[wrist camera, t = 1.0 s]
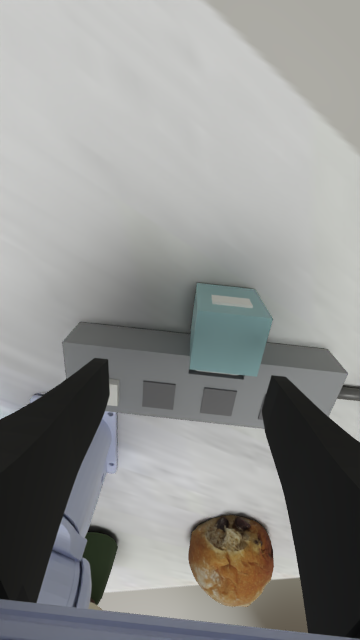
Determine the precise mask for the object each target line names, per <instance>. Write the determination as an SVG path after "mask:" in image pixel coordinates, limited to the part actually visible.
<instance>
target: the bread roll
mask: <svg viewBox="0 0 360 640" xmlns="http://www.w3.org/2000/svg"><path fill="white" fill-rule="evenodd" d="M189 564H190V567H191V570H192V573H193V575H194V577H195V579H196V581H197V582H198V584H199V585H200V586H201V588H202V589H203V590H204V591H205V592H206V593H207V594H208V595H209V596H210V597H212V598H213V599H214V600H215V601H217V602H219V603H221V604H223V605H225V606H243V607H248V606H249V605H250V604H251V603H252V602H253V601H254V600H256V599H257V598H258V596H260V594H261V593H262V591H263V590H264V588H265V586H266V584H268V583H269V582H270V580H271V577H272V572H273V567H274V564H273V549H272V545H271V540H270V538H269V536H268V534H267V532H266V530H265V529H264V528H263V526H262V525H260V524H259V523H258V522H256V521H254V520H251V519H248V518H245V517H242V516H235V515H228V516H221V517H216V518H212V519H210V520H208V521H206V522H204V523H201V524H199V525H198V526H197V528H196V529H195V530H194V531H193V532H192V534H191V540H190V548H189Z"/></svg>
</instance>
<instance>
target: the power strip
mask: <svg viewBox="0 0 360 640" xmlns="http://www.w3.org/2000/svg"><path fill="white" fill-rule="evenodd" d="M62 344H63V353H64V362H65V372H66V379H67V378H69V377H70V376H71V375H73V374H74V373H75V372H77V371H78V370H79V369H81V368H82V367H83V366H84V365H86V364H87V363H88V362H90V361H91V360H92V359H94V358H101V359H108V365H109V388H110V396H109V400H108V403H107V406H106V409H105V411H108V412H117V413H126V414H135V415H144V416H153V417H162V418H171V419H180V420H189V421H198V422H207V423H217V424H226V425H235V426H244V427H253V428H262V429H265V428H264V423H263V417H262V407H263V404H264V400H265V396H266V393H267V389H268V386H269V382H270V379H271V375H274V376H284V377H287V378H288V379H289V380H290V381H291V382H292V383H293V384H294V385H295V386H296V387H297V388H298V389H299V390H300V391H301V392H302V393H303V394H304V395H305V396H306V397H307V398H309V399H310V400H311V401H312V402H313V403H314V404H315V405H316V406H317V407H318V408H319V409H320V410H321V411H322V412H323V413H325V414H326V415H327V416H328V417H329V415H330V413H331V410H332V408H333V406H334V404H335V402H336V399H346V400H355V401H360V389H357V388H348V387H342V386H343V384H344V382H345V379H346V377H347V375H348V373H347V372H346V370H345V369H344V368H343V367H342V366H341V364H340V363H339V362H338V361H337V360H336V358H335V357H334V356H333V355H332V354H331V353H330V351H329V350H328V349H321V348H312V347H303V346H294V345H285V344H276V343H266V346H265V349H264V353H263V357H262V360H261V364H260V367H259V371H258V375H257V377H255V376H246V375H230V374H221V373H212V372H203V371H196V370H191V369H189V367H190V334H184V333H175V332H166V331H157V330H148V329H139V328H130V327H121V326H112V325H102V324H93V323H84V322H80V323H79V324H78V325H77V326H76V327H75V328H74V329H73V331H72V332H71V333H70V334H69V335H68V336H67V337H66V338H65V340H64V341H63V342H62Z"/></svg>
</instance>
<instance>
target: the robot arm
mask: <svg viewBox="0 0 360 640" xmlns="http://www.w3.org/2000/svg"><path fill="white" fill-rule="evenodd" d="M109 396H110V388H109V365H108V359H101V358H94V359H92V360H91V361H90V362H88V363H87V364H86V365H84V366H83V367H82V368H81V369H79V370H78V371H77V372H75V373H74V374H73V375H71V376H70V377H69V378H67V379H66V380H65V381H63V382H62V383H61V384H59V385H58V386H56V387H55V388H53V389H52V390H50V391H49V392H47V393H46V394H44V395H43V396H39V395H34V396H32V397H31V399H30V404H28V405H27V406H25V407H23V408H21V409H20V410H18V411H16V412H14V413H12V414H10V415H8V416H6V417H4V418H2V419H0V640H360V442H358V441H357V440H356V439H354V438H353V437H352V436H350V435H349V434H348V433H347V432H345V431H344V430H343V429H342V428H341V427H340V426H338V425H337V424H336V423H335V422H334V421H332V420H331V419H330V418H329V417H328V416H327V415H326V414H325V413H323V412H322V411H321V410H320V409H319V408H318V407H317V406H316V405H315V404H314V403H313V402H312V401H311V400H310V399H309V398H307V397H306V396H305V395H304V394H303V393H302V392H301V391H300V390H299V389H298V388H297V387H296V386H295V385H294V384H293V383H292V382H291V381H290V380H289V379H288V378H287V377H284V376H274V375H271V379H270V382H269V386H268V389H267V393H266V396H265V400H264V404H263V407H262V417H263V423H264V428H265V433H266V437H267V440H268V443H269V446H270V450H271V453H272V456H273V459H274V462H275V466H276V469H277V472H278V475H279V478H280V482H281V485H282V489H283V492H284V496H285V501H286V505H287V510H288V515H289V519H290V524H291V530H292V535H293V540H294V545H295V551H296V556H297V562H298V568H299V574H300V580H301V586H302V592H303V599H304V606H305V613H306V620H307V626H308V633H302V632H293V631H284V630H275V629H266V628H257V627H248V626H239V625H230V624H221V623H212V622H203V621H194V620H185V619H175V618H167V617H158V616H149V615H139V614H130V613H120V612H112V611H103V610H94V609H88V608H89V603H90V597H91V587H92V582H91V570H90V564H89V562H88V561H87V560H86V559H85V558H83V557H82V556H83V553H84V550H85V546H86V543H87V539H86V538H85V536H86V534H87V532H88V529H89V526H90V523H91V520H92V517H93V513H94V510H95V507H96V504H97V501H98V498H99V494H100V491H101V488H102V485H103V482H104V479H105V475H106V473H111V474H112V473H115V472H116V470H117V412H111V413H110V412H108V411H105V409H106V406H107V403H108V400H109Z"/></svg>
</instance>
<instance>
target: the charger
mask: <svg viewBox="0 0 360 640" xmlns="http://www.w3.org/2000/svg"><path fill="white" fill-rule="evenodd" d="M272 320H273V318H272V316H271V315H270V313H269V311H268V310H267V308H266V307H265V305H264V303H263V302H262V300H261V299H260V297H259V295H258V294H257V292H256V290H255V289H248V288H239V287H230V286H221V285H212V284H203V283H197V286H196V294H195V301H194V309H193V317H192V324H191V334H190V367H189V369H191V370H196V371H203V372H212V373H221V374H230V375H246V376H255V377H257V375H258V371H259V367H260V364H261V360H262V357H263V353H264V349H265V346H266V342H267V338H268V335H269V331H270V327H271V324H272Z"/></svg>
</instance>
